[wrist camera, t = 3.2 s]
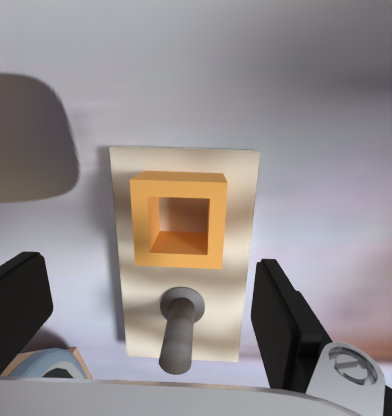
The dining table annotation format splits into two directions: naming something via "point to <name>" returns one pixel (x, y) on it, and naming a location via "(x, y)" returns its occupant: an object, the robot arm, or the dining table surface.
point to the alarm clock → (49, 364)
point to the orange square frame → (169, 240)
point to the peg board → (185, 277)
